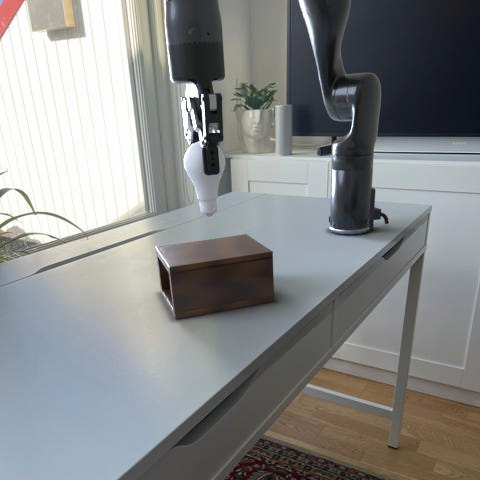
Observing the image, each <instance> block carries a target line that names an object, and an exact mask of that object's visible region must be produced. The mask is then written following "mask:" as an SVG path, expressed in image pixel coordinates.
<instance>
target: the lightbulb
mask: <svg viewBox="0 0 480 480" xmlns="http://www.w3.org/2000/svg"><path fill="white" fill-rule="evenodd" d="M190 145H191V146H189V147H188V148H187V149H186V151H185V154H184V158H183V168H184V170H185V173H186V174H187V176H188V178H189V179H190V181H191V182H192V184H193V187H194V189H195V194H196V198H197V199H196V200H198V204H199V209H200V213H201V214H203V215H205V217H208V218H209V217H213V216H214V214H216V213H217V212H218V197H219V187H220V186H219V185H220V182H221V178H222V177H223V174H224V171H225V169H226V157H225V154H224V152H223V150H222V149H221V147H220V146H217V147H218V153H219V167H220V172H219V174H217V175H205V174H204V171H203V159H202V148H204V147H202V146H201V144H200V141H198V142H196V143H194V144H190Z"/></svg>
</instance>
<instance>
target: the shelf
mask: <svg viewBox="0 0 480 480" xmlns="http://www.w3.org/2000/svg"><path fill="white" fill-rule="evenodd" d="M155 256H156V264H157V271H158V279H159V287H160V293H161V295H162V297H163V299H164V301H165V302H166V304H167V306H168V308H169V310H170V312H171V314H172V315H173V317H174V319H175V320H179V319H185V318H189V317H195V316H201V315H207V314H211V313H218V312H223V311H228V310H234V309H239V308H244V307H250V306H257V305H260V304H261V305H262V304H266V303H272V302H275V283H274V281H275V280H274V277H275V276H274V252H273V250H271V249H270V248H268V247H266V245H264V244H262V243H261V242H259V241H258V240H257V239H255V238H253V237H251V236H250V235H249V234H247V233H245V234H237V235H231V236H224V237H217V238H210V239H204V240H203V239H202V240H196V241H189V242H181V243H174V244H173V243H172V244H166V245H161V246H160V245H159V246H155Z"/></svg>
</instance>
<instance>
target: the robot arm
mask: <svg viewBox="0 0 480 480" xmlns="http://www.w3.org/2000/svg"><path fill="white" fill-rule="evenodd" d="M297 1H298V4H299V7H300V8H299V9H300V11H301V14H302V18H303V20H304V23H305V26H306V30H307V33H308V37H309V40H310V45H311V48H312V52H313V55H314V60H315V64H316V69H317V70H316V71H317V74H318V79H319V86H320V90H321V95H322V99H323V104H324V107H325V109H326V110H325V111H326V112H327V115H328V116H329V118H331V120H333V121H337V122H351V128H350V130H349V131H348V133H347V134H346V135H344V136H342V137H340V138H337V139H335V140H334V141H333V142H332V143H331V159H330V160H331V162H330V163H331V164H330V205H329V206H330V207H329V216H328V223H329V231H330V232H331V233H333V234H338V235H349V236H350V235H361V234H365V233H368V232H370V231H373V230H374V221H379V220H381V219H382V218H383V220H384V225H388V224H389V223H390V221H389V217H388V215H386V214H385V213H384V212H382V208H379V207H376V205H375V204H376V191H377V190H376V188H374V187H373V176H374V159H375V158H374V157H375V154H374V153H375V146H376V142H377V139H378V133H379V125H380V124H379V122H380V113H381V105H382V85H381V82H380V78H379V77H378V75H377V74H376V73H373V72H356V73H348V74H347V72H346V70H345V66H344V62H343V57H342V42H343V38H344V35H345V31H346V28H347V24H348V20H349V16H350V13H351V12H350V11H351V5H352V0H297ZM163 3H164V30H165V39H166V50H167V59H168V67H169V68H168V69H169V79H170V81H171V83H173V84H176V85H177V84H178V85H180V84H181V85H182V84H184V85H185V96H181V97H180V105H181V112H182V121H183V129H184V137H185V139H186V140H187V142H188V144H189V145H190V146H191V145H192V144H194V143H196V142H198V141H200V144H201V146H202V147H204V148H202V159H203V171H204V174H205V175H217V174H219V172H220V167H219V153H218V147H220V146H221V142H223V141H224V120H223V115H224V114H223V95H222V93H221V92H215V91H214V85H213V83H214V82H221V81H223V80H224V79H225V78H226V70H225V68H226V67H225V56H224V55H225V54H224V52H225V51H224V38H223V23H222V21H223V20H222V16H221V15H222V14H221V10H220V9H221V8H220V4H219V0H163ZM190 146H189V147H190ZM217 146H218V147H217Z"/></svg>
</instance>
